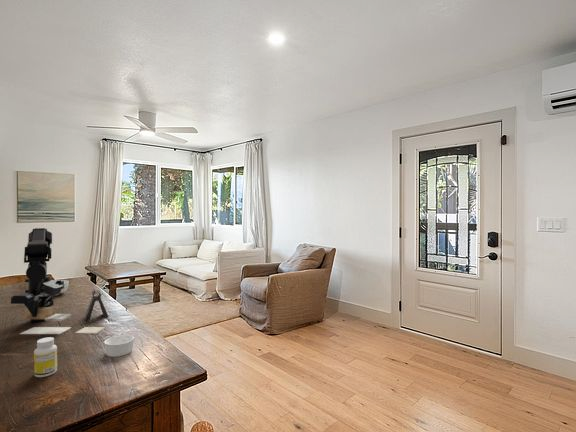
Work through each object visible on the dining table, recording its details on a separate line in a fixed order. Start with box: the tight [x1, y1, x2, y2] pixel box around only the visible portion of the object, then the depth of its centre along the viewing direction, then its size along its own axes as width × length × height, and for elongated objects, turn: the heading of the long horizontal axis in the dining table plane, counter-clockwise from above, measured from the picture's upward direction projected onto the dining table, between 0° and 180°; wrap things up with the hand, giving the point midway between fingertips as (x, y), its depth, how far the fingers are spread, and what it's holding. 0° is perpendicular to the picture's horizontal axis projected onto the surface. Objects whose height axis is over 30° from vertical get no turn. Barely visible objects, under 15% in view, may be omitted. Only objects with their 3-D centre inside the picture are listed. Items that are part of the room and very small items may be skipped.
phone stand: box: [84, 289, 109, 322], centre depth 143 cm, size 9×6×12 cm, turn 123°
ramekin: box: [103, 334, 135, 358], centre depth 109 cm, size 9×9×4 cm
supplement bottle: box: [33, 336, 58, 378], centre depth 94 cm, size 5×5×10 cm
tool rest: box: [19, 326, 72, 335], centre depth 126 cm, size 15×7×1 cm, turn 91°
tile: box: [74, 326, 106, 335], centre depth 127 cm, size 2×6×8 cm
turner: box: [24, 306, 72, 322], centre depth 126 cm, size 15×6×4 cm, turn 91°
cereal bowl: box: [50, 279, 70, 297], centre depth 181 cm, size 17×17×7 cm
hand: (37, 315), depth 126 cm, fingers closed on turner, 2 cm apart
